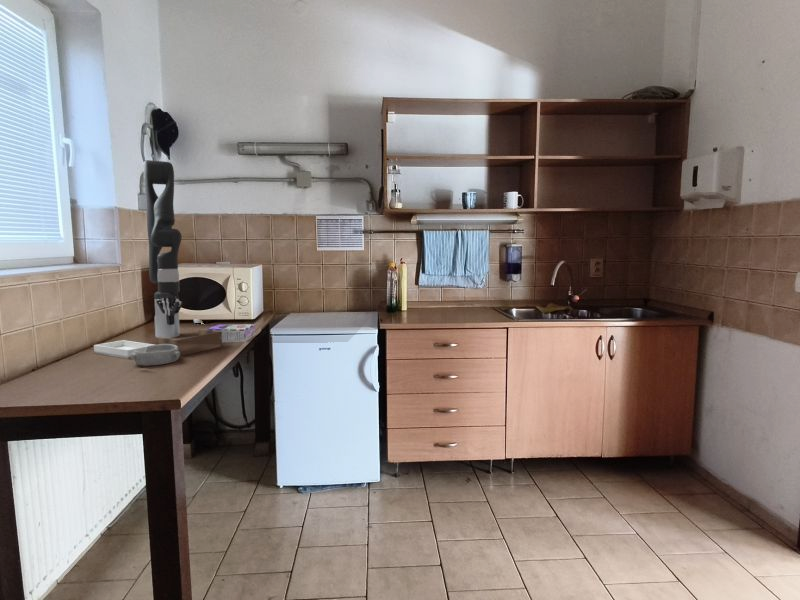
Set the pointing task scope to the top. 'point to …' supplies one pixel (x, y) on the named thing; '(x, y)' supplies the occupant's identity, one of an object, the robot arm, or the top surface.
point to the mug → (198, 321)
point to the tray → (120, 348)
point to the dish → (156, 355)
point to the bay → (195, 342)
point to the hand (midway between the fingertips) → (170, 324)
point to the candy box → (235, 332)
